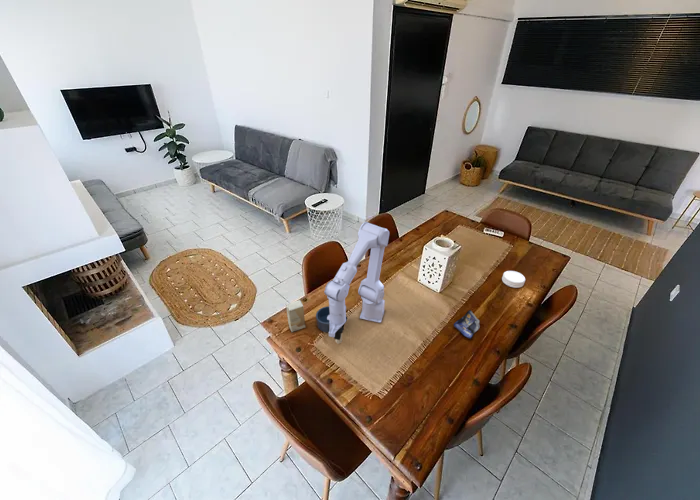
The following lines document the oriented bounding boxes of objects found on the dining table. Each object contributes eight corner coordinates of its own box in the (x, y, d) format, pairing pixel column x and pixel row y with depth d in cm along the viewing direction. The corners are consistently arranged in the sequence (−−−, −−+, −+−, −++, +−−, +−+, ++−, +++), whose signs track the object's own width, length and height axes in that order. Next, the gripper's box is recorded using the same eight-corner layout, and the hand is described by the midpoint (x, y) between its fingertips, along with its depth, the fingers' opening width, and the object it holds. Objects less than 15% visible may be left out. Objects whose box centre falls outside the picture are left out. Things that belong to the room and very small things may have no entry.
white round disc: (518, 291, 145) (520, 285, 143) (497, 281, 151) (499, 275, 149) (527, 282, 150) (529, 276, 148) (507, 273, 157) (509, 267, 155)
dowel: (343, 338, 118) (342, 323, 114) (341, 344, 116) (340, 328, 112) (336, 337, 119) (335, 322, 114) (334, 342, 117) (333, 327, 112)
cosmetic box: (291, 332, 125) (288, 311, 118) (288, 325, 128) (284, 304, 122) (306, 327, 127) (303, 305, 121) (302, 320, 131) (300, 299, 124)
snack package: (489, 337, 122) (475, 316, 131) (491, 327, 118) (476, 305, 128) (461, 344, 121) (448, 322, 131) (462, 334, 118) (448, 313, 127)
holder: (343, 317, 132) (342, 308, 129) (335, 334, 124) (335, 325, 121) (321, 312, 134) (321, 304, 132) (313, 329, 126) (312, 320, 124)
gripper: (333, 294, 115) (334, 320, 123) (319, 322, 104) (322, 348, 111) (351, 298, 114) (351, 323, 121) (339, 326, 102) (340, 352, 110)
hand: (338, 335), depth 116 cm, fingers closed on dowel, 2 cm apart
